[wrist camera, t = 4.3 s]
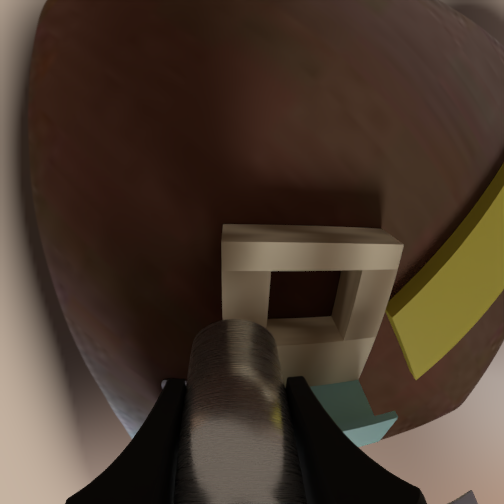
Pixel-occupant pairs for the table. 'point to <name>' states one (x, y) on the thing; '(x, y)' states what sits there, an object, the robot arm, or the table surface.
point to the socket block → (312, 259)
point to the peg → (236, 422)
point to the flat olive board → (453, 285)
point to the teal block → (353, 412)
